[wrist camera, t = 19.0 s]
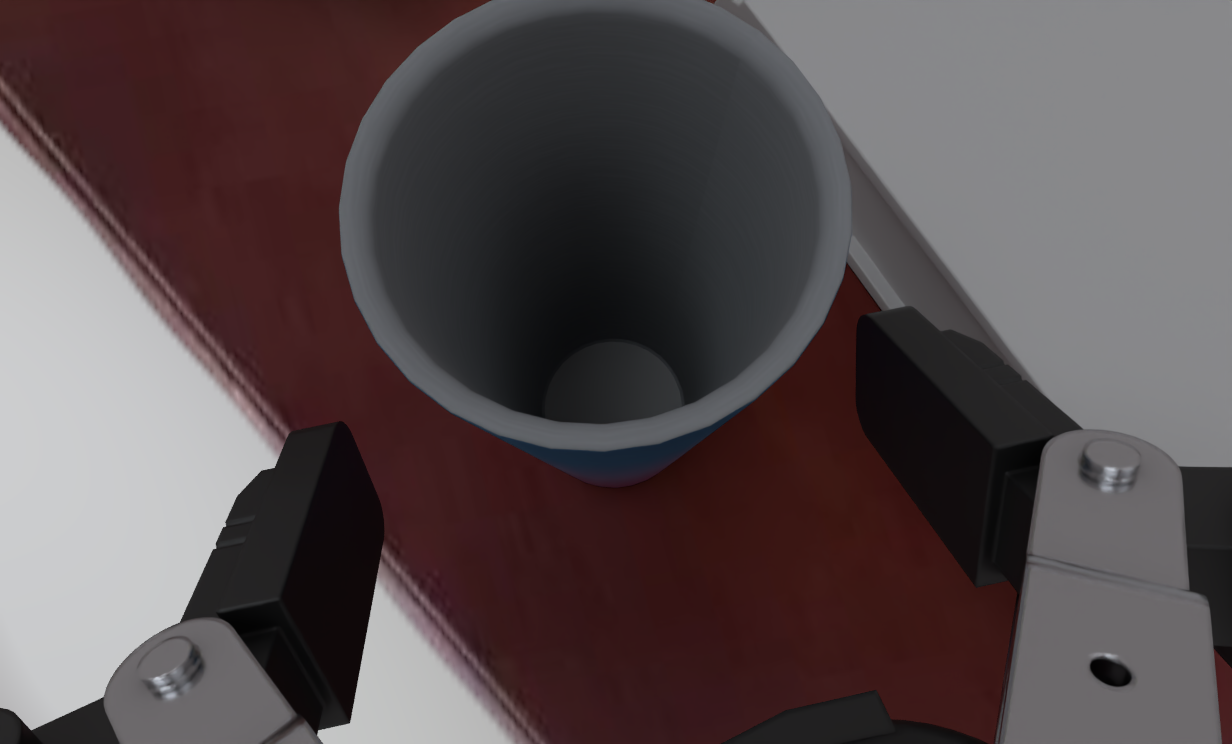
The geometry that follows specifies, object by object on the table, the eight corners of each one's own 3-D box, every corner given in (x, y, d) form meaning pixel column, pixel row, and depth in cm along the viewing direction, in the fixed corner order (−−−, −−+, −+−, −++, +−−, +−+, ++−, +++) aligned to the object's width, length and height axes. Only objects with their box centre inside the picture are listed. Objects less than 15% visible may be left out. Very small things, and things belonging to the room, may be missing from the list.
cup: (620, 563, 19) (609, 571, 7) (465, 416, 20) (230, 211, 8) (761, 403, 20) (959, 178, 8) (607, 270, 21) (582, -104, 9)
